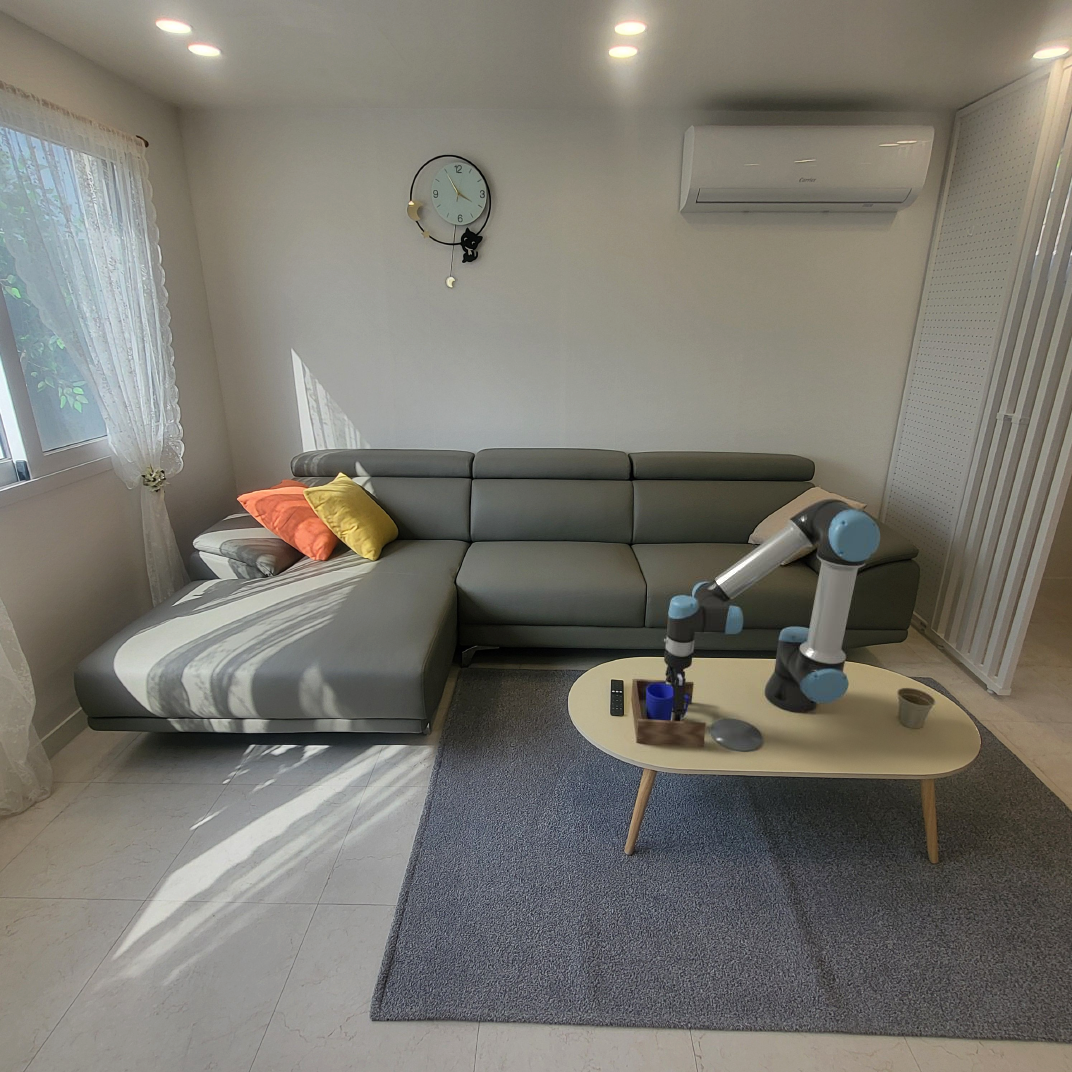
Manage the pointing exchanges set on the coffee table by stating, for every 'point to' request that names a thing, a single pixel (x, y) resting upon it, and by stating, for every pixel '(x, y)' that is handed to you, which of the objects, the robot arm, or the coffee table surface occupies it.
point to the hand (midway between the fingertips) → (671, 715)
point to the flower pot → (914, 706)
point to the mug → (660, 702)
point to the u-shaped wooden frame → (664, 721)
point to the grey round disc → (736, 734)
